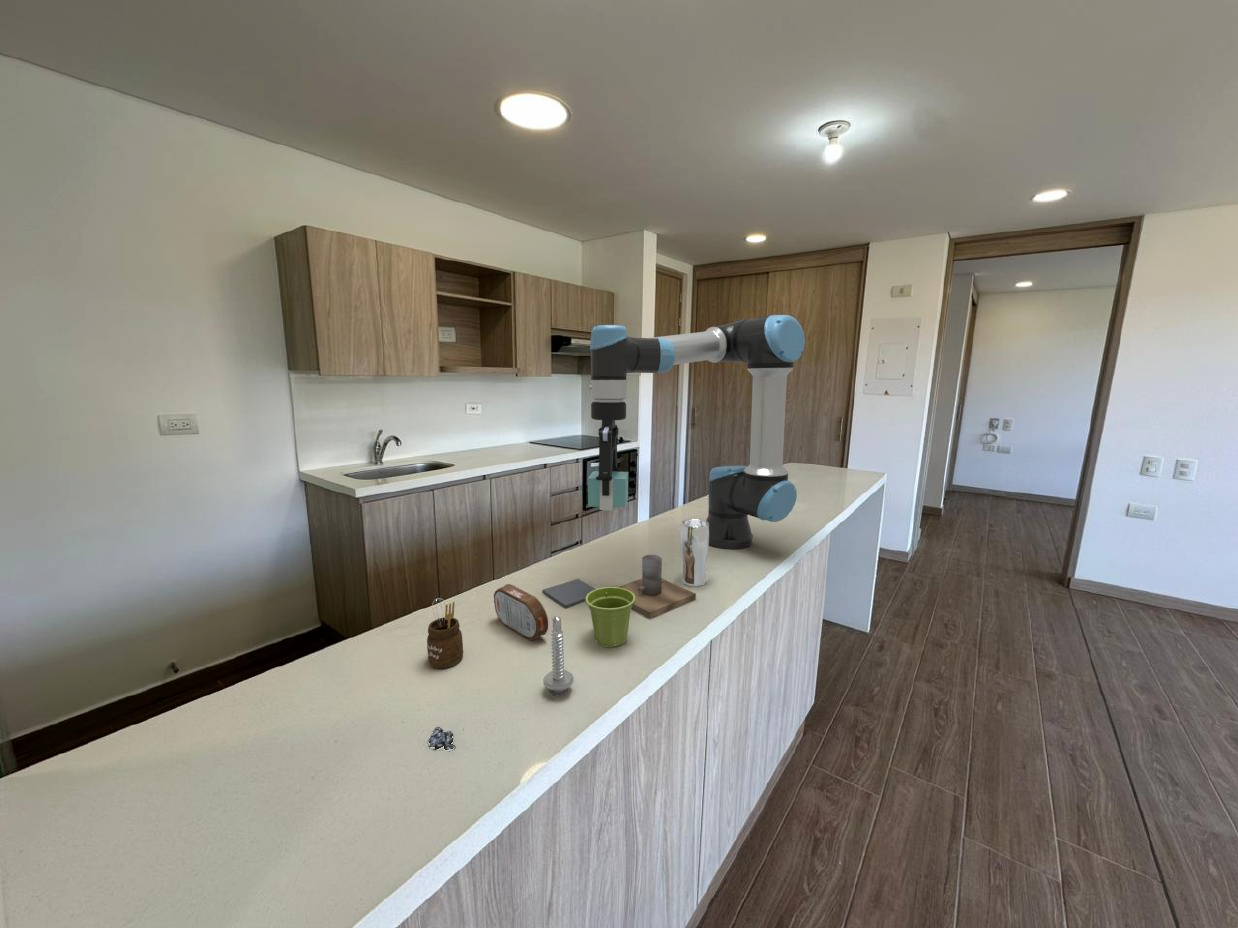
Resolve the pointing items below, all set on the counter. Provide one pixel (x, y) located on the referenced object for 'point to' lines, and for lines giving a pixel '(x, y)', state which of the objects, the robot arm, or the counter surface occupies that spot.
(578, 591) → the mat
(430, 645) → the utensil holder
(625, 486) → the striped light blue box
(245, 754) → the counter surface
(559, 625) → the screw
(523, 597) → the tin
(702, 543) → the beer glass
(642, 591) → the brown square stand
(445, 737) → the grey irregular lump
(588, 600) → the plant pot
